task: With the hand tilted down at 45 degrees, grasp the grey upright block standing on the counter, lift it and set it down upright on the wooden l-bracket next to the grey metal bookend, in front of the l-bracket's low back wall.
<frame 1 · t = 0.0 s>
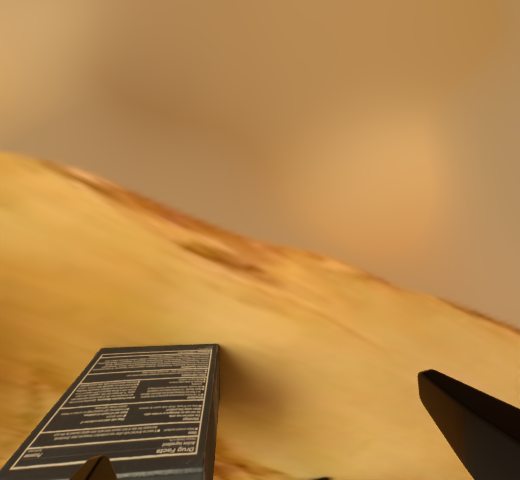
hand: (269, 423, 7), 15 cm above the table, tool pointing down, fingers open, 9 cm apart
small box: (163, 373, 23), on the table
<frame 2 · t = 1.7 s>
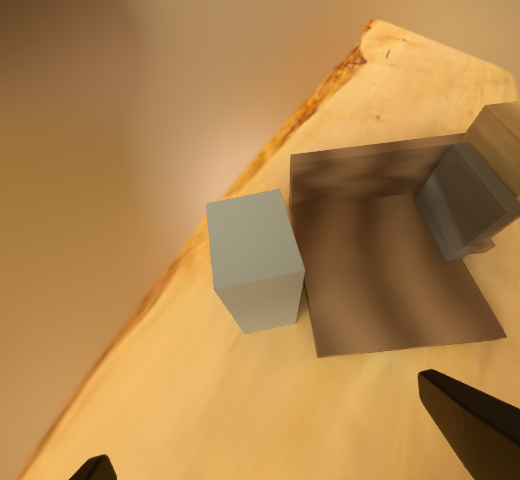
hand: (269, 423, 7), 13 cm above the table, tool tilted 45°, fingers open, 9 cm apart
grey upright block: (264, 298, 23), on the table
wooden l-bracket: (374, 264, 23), on the table
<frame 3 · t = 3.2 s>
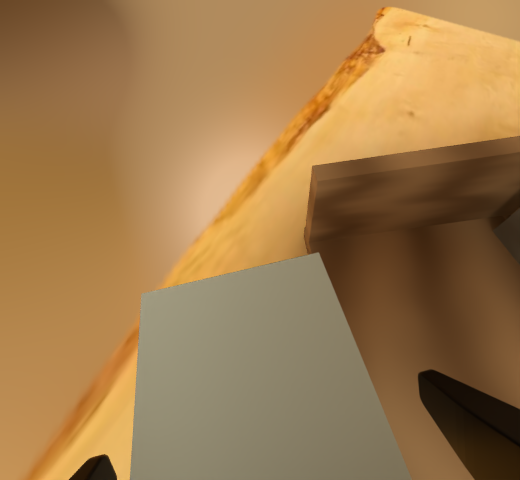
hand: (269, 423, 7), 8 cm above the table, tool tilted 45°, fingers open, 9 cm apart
grey upright block: (275, 400, 14), on the table
wooden l-bracket: (448, 335, 15), on the table
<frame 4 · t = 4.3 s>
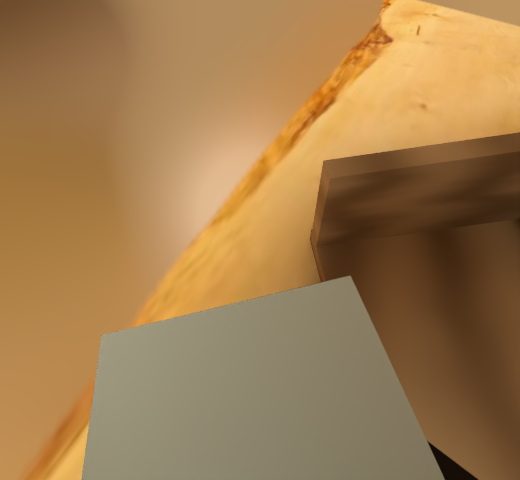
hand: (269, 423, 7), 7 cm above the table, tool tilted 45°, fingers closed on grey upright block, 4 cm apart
grey upright block: (280, 428, 12), on the table, touching gripper
wooden l-bracket: (474, 352, 13), on the table
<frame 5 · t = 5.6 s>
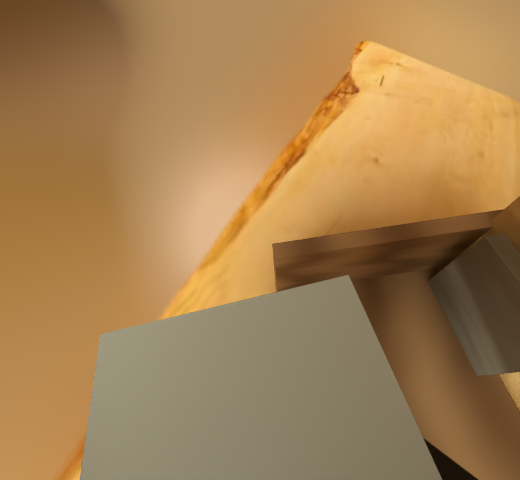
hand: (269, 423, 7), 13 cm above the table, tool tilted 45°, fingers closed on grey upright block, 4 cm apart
grey upright block: (279, 428, 12), point 6 cm above the table, touching gripper
wooden l-bracket: (384, 372, 18), on the table
when the fingers open (9 cm above the table, at t = 7.2 s): grey upright block stays where it is, resting on wooden l-bracket.
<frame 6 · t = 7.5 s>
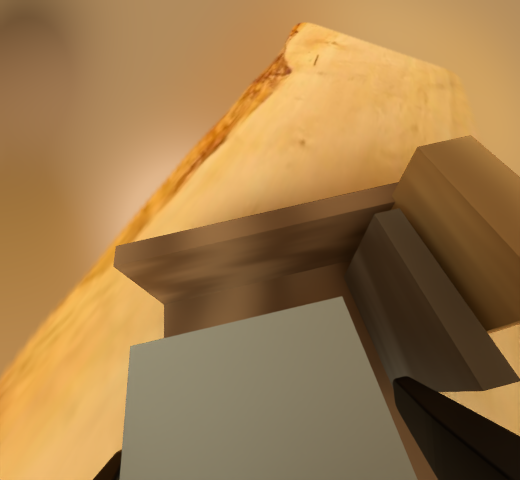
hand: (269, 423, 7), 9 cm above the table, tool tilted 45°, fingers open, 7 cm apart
grey upright block: (280, 427, 13), point 1 cm above the table, touching wooden l-bracket
wooden l-bracket: (289, 397, 14), on the table
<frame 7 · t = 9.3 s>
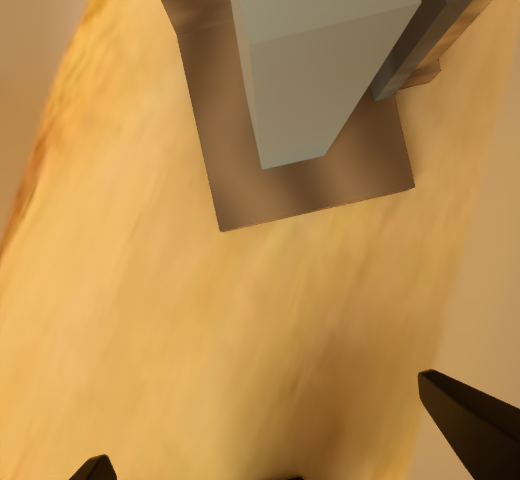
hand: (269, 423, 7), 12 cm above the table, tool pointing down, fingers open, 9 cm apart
grey upright block: (284, 125, 17), point 1 cm above the table, touching wooden l-bracket
wooden l-bracket: (291, 115, 19), on the table
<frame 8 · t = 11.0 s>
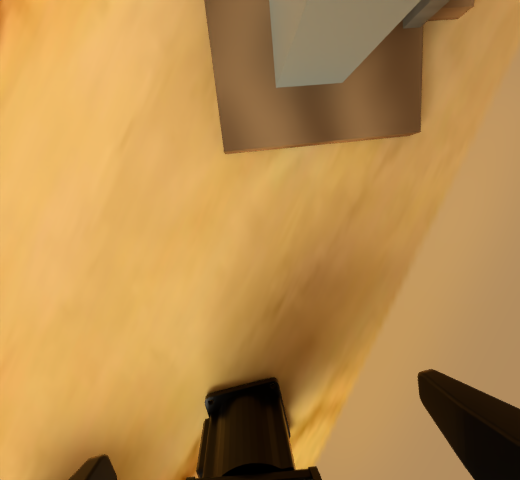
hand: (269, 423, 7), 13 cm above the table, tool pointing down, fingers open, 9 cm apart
grey upright block: (306, 37, 16), point 1 cm above the table, touching wooden l-bracket
wooden l-bracket: (312, 28, 17), on the table
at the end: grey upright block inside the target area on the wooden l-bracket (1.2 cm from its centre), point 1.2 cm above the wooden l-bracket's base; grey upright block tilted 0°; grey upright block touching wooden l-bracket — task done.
